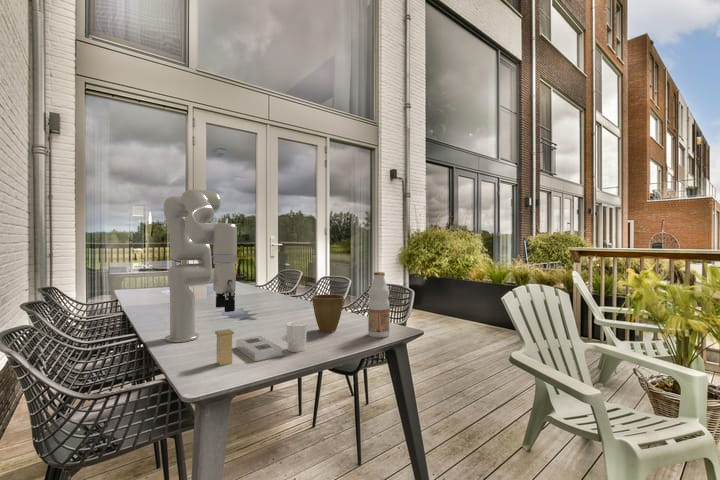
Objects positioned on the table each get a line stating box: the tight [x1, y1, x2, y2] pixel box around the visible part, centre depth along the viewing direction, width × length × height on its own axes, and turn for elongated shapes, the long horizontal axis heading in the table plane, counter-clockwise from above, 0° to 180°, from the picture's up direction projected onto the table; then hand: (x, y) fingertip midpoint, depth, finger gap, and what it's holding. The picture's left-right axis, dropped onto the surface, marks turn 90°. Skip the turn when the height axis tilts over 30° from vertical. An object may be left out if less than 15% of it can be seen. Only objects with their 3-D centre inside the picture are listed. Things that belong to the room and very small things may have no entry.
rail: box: [235, 335, 283, 362], centre depth 136 cm, size 20×10×3 cm, turn 37°
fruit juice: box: [367, 271, 391, 339], centre depth 160 cm, size 9×9×28 cm
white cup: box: [285, 320, 308, 353], centre depth 139 cm, size 8×8×10 cm
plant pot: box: [311, 293, 345, 333], centre depth 168 cm, size 15×15×16 cm
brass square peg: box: [214, 328, 235, 367], centre depth 123 cm, size 5×5×11 cm
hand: (225, 309), depth 123 cm, fingers open, 9 cm apart
